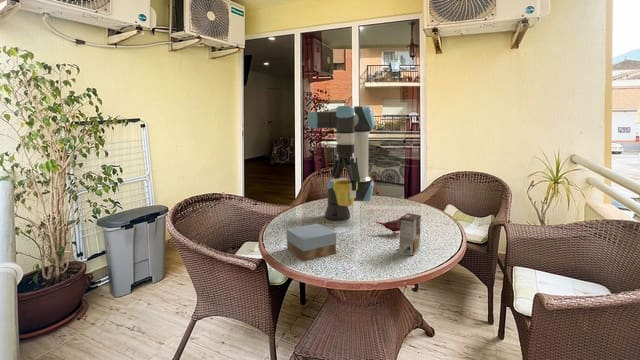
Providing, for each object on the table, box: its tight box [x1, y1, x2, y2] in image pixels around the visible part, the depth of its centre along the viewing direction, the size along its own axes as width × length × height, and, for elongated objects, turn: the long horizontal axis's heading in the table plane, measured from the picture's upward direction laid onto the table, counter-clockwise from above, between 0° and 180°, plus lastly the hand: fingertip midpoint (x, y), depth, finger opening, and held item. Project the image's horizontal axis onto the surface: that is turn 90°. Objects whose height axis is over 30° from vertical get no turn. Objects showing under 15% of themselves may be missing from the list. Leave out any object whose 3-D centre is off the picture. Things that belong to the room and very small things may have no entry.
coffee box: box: [398, 212, 422, 256], centre depth 151 cm, size 9×6×16 cm
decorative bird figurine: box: [375, 215, 404, 235], centre depth 174 cm, size 3×18×10 cm, turn 80°
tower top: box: [286, 223, 337, 251], centre depth 152 cm, size 16×16×5 cm
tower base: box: [286, 239, 337, 262], centre depth 153 cm, size 16×16×5 cm
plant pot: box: [333, 179, 357, 207], centre depth 147 cm, size 10×10×10 cm
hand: (345, 195), depth 148 cm, fingers closed on plant pot, 10 cm apart
